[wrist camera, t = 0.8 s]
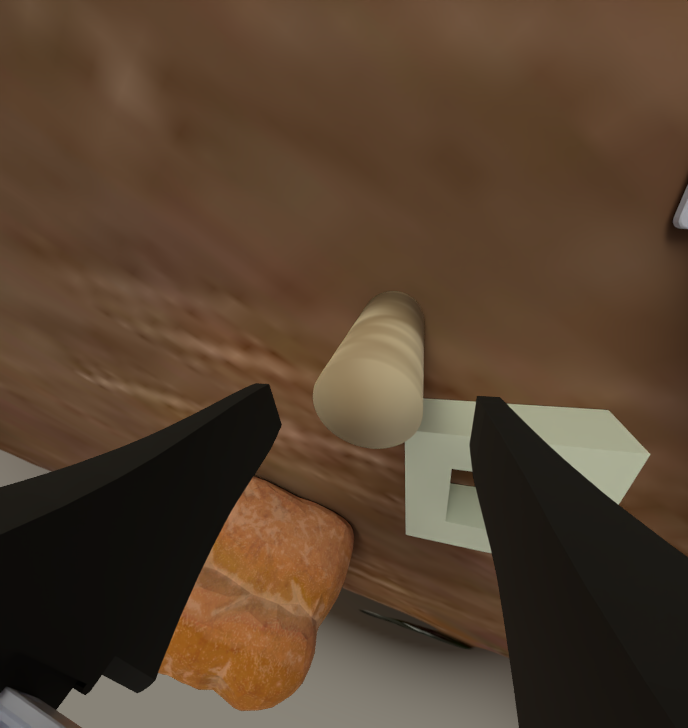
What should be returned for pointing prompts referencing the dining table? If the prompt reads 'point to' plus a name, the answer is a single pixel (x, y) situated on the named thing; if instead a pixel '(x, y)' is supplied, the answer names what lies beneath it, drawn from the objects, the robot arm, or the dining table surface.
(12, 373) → the dining table surface
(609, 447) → the socket block
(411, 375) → the peg
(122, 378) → the dining table surface
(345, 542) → the bread
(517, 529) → the robot arm
